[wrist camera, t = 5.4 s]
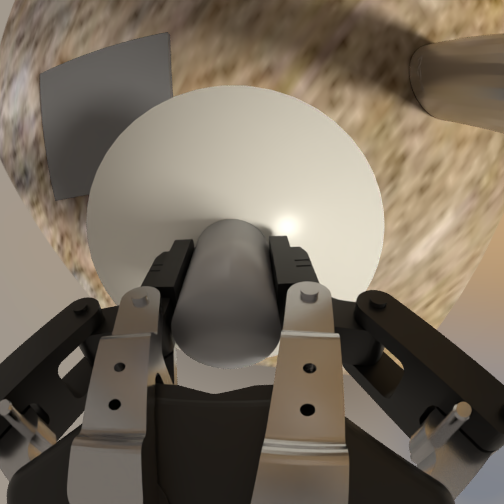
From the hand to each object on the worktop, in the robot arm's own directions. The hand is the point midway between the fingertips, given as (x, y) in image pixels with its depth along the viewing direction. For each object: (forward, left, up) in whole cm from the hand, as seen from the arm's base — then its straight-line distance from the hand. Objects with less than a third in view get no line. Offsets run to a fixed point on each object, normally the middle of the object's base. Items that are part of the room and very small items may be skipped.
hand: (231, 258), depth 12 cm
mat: (+13, -7, -17) cm, 22 cm away
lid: (0, 0, -1) cm, 1 cm away
